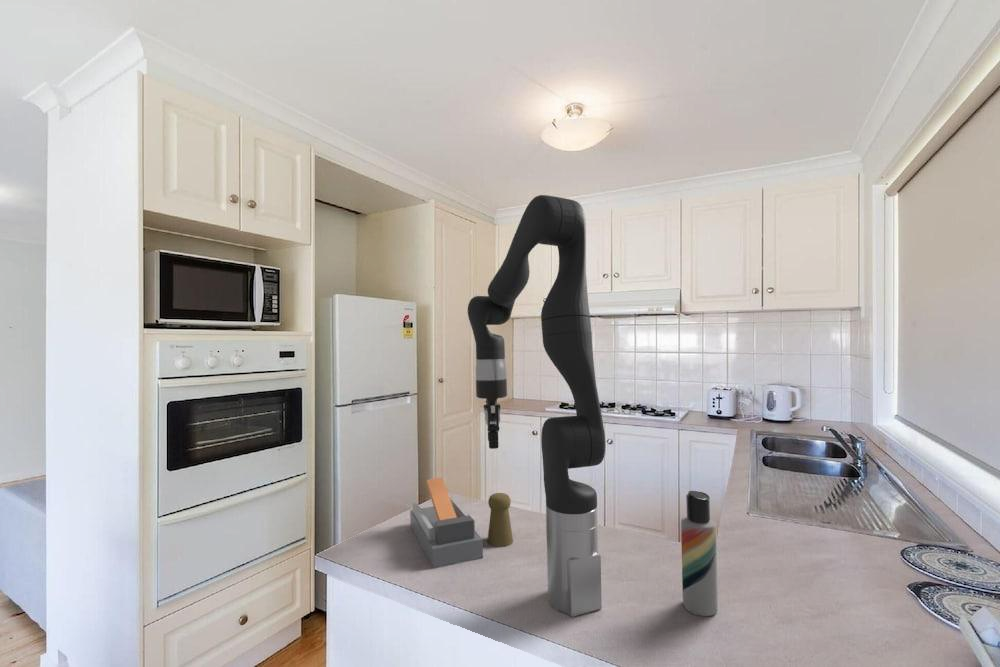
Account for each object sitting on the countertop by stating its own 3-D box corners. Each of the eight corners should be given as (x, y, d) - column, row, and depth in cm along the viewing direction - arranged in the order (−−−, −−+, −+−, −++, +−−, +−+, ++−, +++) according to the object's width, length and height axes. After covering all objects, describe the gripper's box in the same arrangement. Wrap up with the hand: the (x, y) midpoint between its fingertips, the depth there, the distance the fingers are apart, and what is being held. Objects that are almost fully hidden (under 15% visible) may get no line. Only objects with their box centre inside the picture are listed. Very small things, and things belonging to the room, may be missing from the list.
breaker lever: (460, 532, 105) (460, 528, 105) (443, 535, 104) (443, 531, 104) (441, 481, 120) (442, 477, 119) (426, 483, 118) (426, 479, 118)
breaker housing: (482, 557, 102) (482, 521, 102) (433, 568, 98) (432, 529, 98) (452, 518, 124) (451, 488, 124) (410, 525, 120) (410, 494, 120)
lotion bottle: (688, 594, 86) (686, 485, 86) (722, 605, 83) (719, 491, 83) (678, 609, 82) (675, 494, 82) (712, 621, 78) (710, 501, 78)
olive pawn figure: (513, 547, 107) (512, 498, 107) (486, 547, 107) (485, 499, 107) (513, 535, 113) (512, 489, 113) (488, 536, 113) (487, 490, 113)
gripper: (508, 379, 108) (510, 450, 107) (504, 375, 122) (506, 438, 121) (475, 380, 107) (477, 451, 107) (475, 376, 121) (477, 439, 121)
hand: (493, 444), depth 114 cm, fingers open, 8 cm apart
